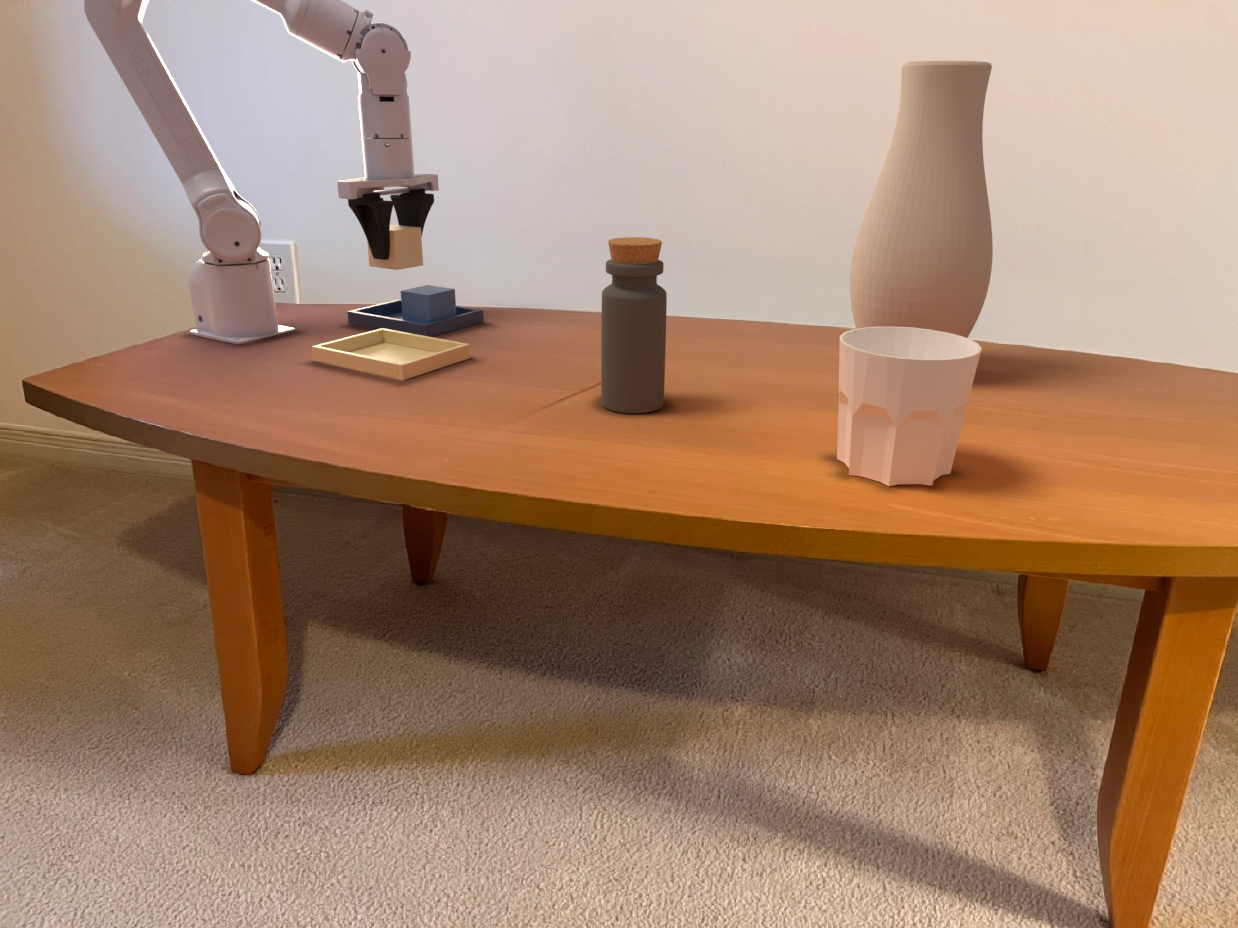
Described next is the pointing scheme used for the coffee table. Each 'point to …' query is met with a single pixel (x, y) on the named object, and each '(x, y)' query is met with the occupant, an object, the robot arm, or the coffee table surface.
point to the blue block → (428, 304)
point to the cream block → (401, 249)
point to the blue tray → (392, 319)
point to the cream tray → (391, 353)
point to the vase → (929, 208)
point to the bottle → (633, 327)
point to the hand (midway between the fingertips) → (396, 256)
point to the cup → (902, 401)
